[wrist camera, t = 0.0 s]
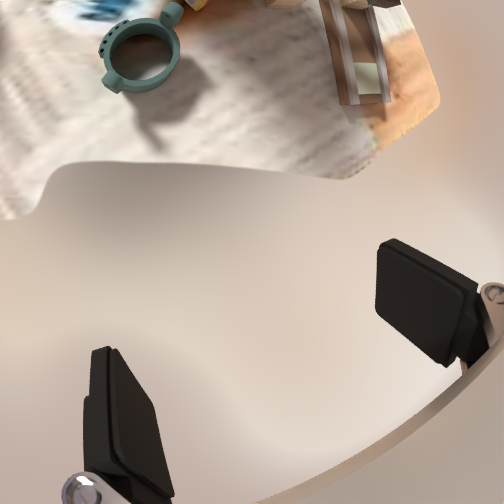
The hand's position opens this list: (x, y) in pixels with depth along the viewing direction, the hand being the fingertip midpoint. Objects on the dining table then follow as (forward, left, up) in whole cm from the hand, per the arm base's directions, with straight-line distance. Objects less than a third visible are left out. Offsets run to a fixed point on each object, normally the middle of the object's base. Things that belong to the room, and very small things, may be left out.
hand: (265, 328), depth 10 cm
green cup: (-16, 0, -32) cm, 35 cm away
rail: (-15, +31, -31) cm, 46 cm away
